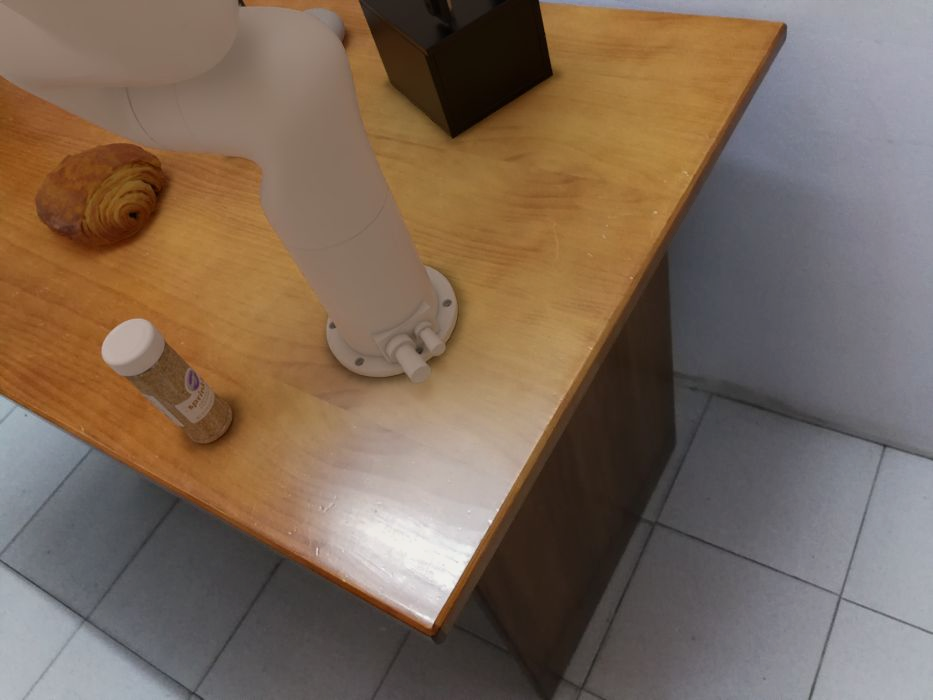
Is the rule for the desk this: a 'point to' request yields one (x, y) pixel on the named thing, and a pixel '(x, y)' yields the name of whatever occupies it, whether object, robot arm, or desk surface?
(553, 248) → the desk surface
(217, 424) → the sprinkles bottle
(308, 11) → the donut
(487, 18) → the lid
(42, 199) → the croissant
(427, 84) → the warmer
